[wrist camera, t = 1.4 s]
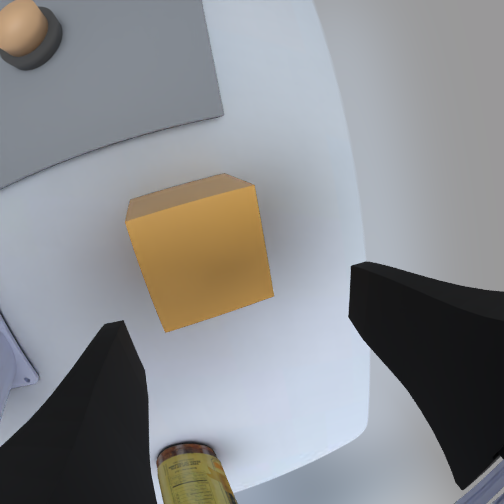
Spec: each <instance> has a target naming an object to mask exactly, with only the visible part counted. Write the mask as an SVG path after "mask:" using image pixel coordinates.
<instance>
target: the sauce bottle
mask: <svg viewBox="0 0 504 504" xmlns="http://www.w3.org/2000/svg"><path fill="white" fill-rule="evenodd" d="M156 464H157V468H158V469H157V470H158V479H159V484H160V489H161V494H162V498H163V502H164V504H237V501H236V499H235V497H234V495H233V492H232V489H231V487H230V485H229V482H228V480H227V477H226V475H225V472H224V470H223V467H222V465H221V462H220V461H219V460H218V459H217V457H216V454H215V453H214V451H213V450H212V449H211V448H210V447H208V446H206V445H200V444H194V443H191V444H179V445H176V446H171V447H169V448H167V449H165V450H164V451H163V452H162V453H161V454H160V455H159V457H158V459H157V462H156Z"/></svg>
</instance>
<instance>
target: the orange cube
mask: <svg viewBox="0 0 504 504" xmlns="http://www.w3.org/2000/svg"><path fill="white" fill-rule="evenodd" d="M125 224H126V227H127V230H128V233H129V236H130V239H131V242H132V245H133V248H134V251H135V254H136V257H137V260H138V263H139V266H140V269H141V272H142V274H143V277H144V280H145V283H146V285H147V288H148V291H149V293H150V296H151V299H152V301H153V304H154V306H155V309H156V311H157V314H158V316H159V319H160V321H161V324H162V326H163V328H164V331H165V333H166V332H170V331H173V330H176V329H179V328H182V327H185V326H188V325H192V324H195V323H198V322H201V321H204V320H207V319H210V318H213V317H216V316H219V315H222V314H225V313H228V312H231V311H234V310H236V309H239V308H242V307H245V306H248V305H251V304H254V303H256V302H259V301H262V300H265V299H268V298H271V297H273V296H274V293H273V287H272V281H271V275H270V269H269V264H268V258H267V252H266V246H265V241H264V235H263V229H262V224H261V218H260V213H259V207H258V202H257V196H256V191H255V185H253V184H251V183H248V182H246V181H243V180H240V179H238V178H235V177H233V176H230V175H227V174H225V173H224V174H220V175H216V176H212V177H208V178H204V179H200V180H196V181H193V182H189V183H185V184H182V185H178V186H174V187H171V188H167V189H164V190H161V191H157V192H154V193H150V194H147V195H144V196H141V197H137V198H134V199H131V200H130V202H129V206H128V210H127V215H126V219H125Z"/></svg>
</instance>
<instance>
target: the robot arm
mask: <svg viewBox="0 0 504 504" xmlns="http://www.w3.org/2000/svg"><path fill="white" fill-rule="evenodd" d="M348 317H349V319H350V320H351V322H352V323H353V325H354V327H355V328H356V330H357V331H358V333H359V334H360V336H361V337H362V339H363V340H364V341H365V342H366V343H367V345H368V346H369V347H370V348H371V349H372V350H373V351H374V353H376V355H377V356H378V357H379V358H380V359H381V360H382V361H383V363H384V364H385V365H386V366H387V367H388V368H389V369H390V370H391V371H392V373H393V374H394V375H395V376H396V377H397V378H398V379H399V381H401V383H402V384H403V385H404V387H405V388H406V389H407V390H408V392H409V393H410V395H411V396H412V398H413V399H414V401H415V402H416V404H417V405H418V407H419V408H420V410H421V411H422V413H423V415H424V417H425V418H426V420H427V422H428V423H429V425H430V427H431V428H432V430H433V432H434V434H435V436H436V438H437V440H438V442H439V444H440V446H441V448H442V450H443V452H444V454H445V456H446V459H447V461H448V464H449V466H450V468H451V471H452V473H453V476H454V479H455V482H456V484H457V485H458V486H459V487H460V489H461V490H464V489H465V488H466V487H468V486H469V485H470V484H471V483H472V482H474V481H475V480H476V479H477V478H478V477H479V476H480V475H482V474H483V473H484V472H485V471H486V470H487V469H488V468H489V467H490V466H491V465H492V464H493V463H494V462H495V461H496V460H497V459H498V458H499V457H500V456H501V457H502V458H503V460H502V462H500V463H499V464H498V465H497V466H496V467H495V468H494V469H493V470H492V471H491V472H490V473H489V474H488V475H487V476H486V477H485V478H484V479H483V480H481V481H480V482H479V483H478V484H477V485H476V486H475V487H474V488H472V489H471V490H470V491H469V492H468V493H466V494H465V495H464V496H463V497H462V498H460V499H459V500H458V501H456V502H455V503H454V504H486V503H487V502H488V501H489V500H490V499H491V498H492V497H493V496H494V495H495V494H497V493H498V492H499V491H500V489H502V488H503V486H504V292H500V291H489V290H483V289H477V288H471V287H465V286H460V285H456V284H452V283H447V282H443V281H439V280H436V279H432V278H428V277H425V276H421V275H418V274H414V273H411V272H407V271H404V270H400V269H397V268H393V267H390V266H386V265H382V264H377V263H373V262H363V263H359V264H355V265H352V266H351V280H350V300H349V316H348ZM27 378H29V379H27ZM38 380H39V376H38V374H37V373H36V372H35V370H34V369H33V367H32V366H31V364H30V363H29V361H28V360H27V358H26V357H25V355H24V354H23V352H22V350H21V349H20V347H19V346H18V344H17V342H16V341H15V339H14V337H13V336H12V334H11V332H10V331H9V329H8V327H7V325H6V324H5V322H4V320H3V318H2V316H1V314H0V422H1V418H2V415H3V411H4V408H5V404H6V401H7V398H8V395H9V392H10V389H12V388H17V387H21V386H26V385H31V384H36V383H37V382H38ZM0 504H157V501H156V496H155V491H154V486H153V481H152V476H151V468H150V455H149V412H148V392H147V383H146V375H145V370H144V367H143V365H142V363H141V361H140V359H139V356H138V354H137V352H136V349H135V347H134V345H133V342H132V340H131V338H130V335H129V333H128V330H127V328H126V325H125V323H124V320H122V321H117V322H112V323H107V324H104V326H103V327H102V328H101V329H100V330H99V332H98V333H97V334H96V336H95V337H94V339H93V340H92V341H91V343H90V344H89V345H88V347H87V348H86V350H85V351H84V352H83V354H82V355H81V357H80V358H79V359H78V361H77V362H76V364H75V365H74V366H73V368H72V369H71V370H70V372H69V373H68V374H67V375H66V377H65V378H64V379H63V381H62V382H61V383H60V384H59V386H58V387H57V388H56V390H55V391H54V392H53V394H52V395H51V396H50V397H49V398H48V400H47V401H46V402H45V403H44V404H43V405H42V406H41V408H40V409H39V410H38V411H37V412H36V413H35V414H34V415H33V416H32V417H31V418H30V420H29V421H28V422H27V423H26V424H24V425H23V426H22V427H21V428H20V429H19V430H18V431H17V432H16V433H15V434H14V435H13V436H12V437H11V438H10V439H9V440H8V441H6V442H5V443H4V444H3V445H2V446H1V447H0ZM491 504H504V493H503V494H502V495H501V496H500V497H498V498H497V499H496V500H495V501H494V502H492V503H491Z"/></svg>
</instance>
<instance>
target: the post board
mask: <svg viewBox="0 0 504 504" xmlns="http://www.w3.org/2000/svg"><path fill="white" fill-rule="evenodd" d="M223 115H224V111H223V106H222V101H221V96H220V91H219V86H218V81H217V76H216V71H215V66H214V61H213V56H212V50H211V45H210V40H209V35H208V30H207V25H206V20H205V15H204V10H203V5H202V0H0V189H2V188H4V187H6V186H8V185H10V184H12V183H15V182H17V181H19V180H21V179H23V178H25V177H28V176H30V175H32V174H35V173H37V172H39V171H42V170H44V169H46V168H49V167H51V166H54V165H56V164H59V163H61V162H64V161H66V160H69V159H72V158H74V157H77V156H80V155H82V154H85V153H88V152H91V151H94V150H97V149H100V148H103V147H106V146H109V145H112V144H115V143H118V142H121V141H125V140H128V139H131V138H135V137H138V136H142V135H145V134H149V133H152V132H156V131H160V130H164V129H168V128H172V127H176V126H180V125H184V124H188V123H193V122H197V121H202V120H207V119H212V118H217V117H220V116H223Z"/></svg>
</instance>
